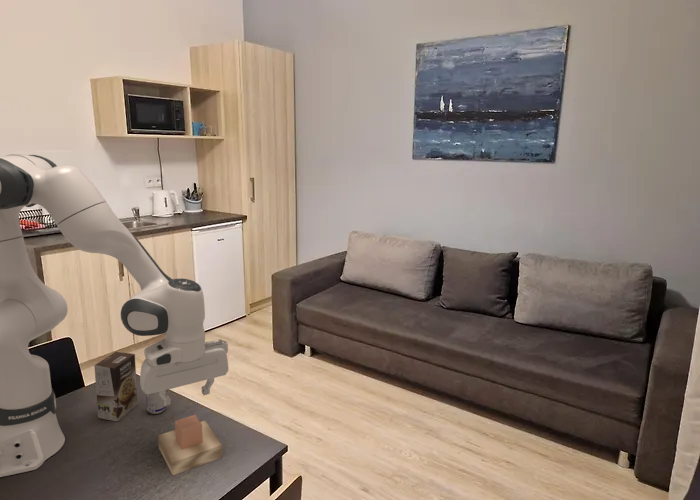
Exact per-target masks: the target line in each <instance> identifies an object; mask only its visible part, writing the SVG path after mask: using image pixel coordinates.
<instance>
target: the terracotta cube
mask: <svg viewBox="0 0 700 500" xmlns="http://www.w3.org/2000/svg"><path fill="white" fill-rule="evenodd" d="M201 422H202V421H200V420H199V418H198V417H197V416H196V414H192V415H190V416H187V417H183V418H180V419H178V420H175V421H174V428H175V429H174V430H175V436H176V440H177V442H178V443H179V445H180V447H181V448H182V450H183V449H186V448H188V447H191V446H194V445H197V444H199V443H202V442H203V436H202V424H201Z"/></svg>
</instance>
